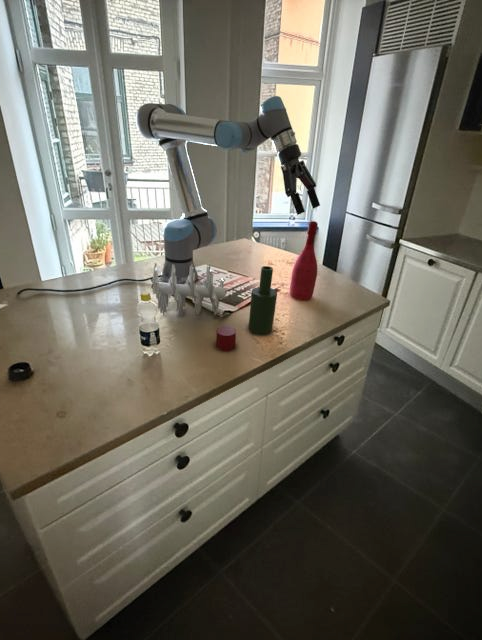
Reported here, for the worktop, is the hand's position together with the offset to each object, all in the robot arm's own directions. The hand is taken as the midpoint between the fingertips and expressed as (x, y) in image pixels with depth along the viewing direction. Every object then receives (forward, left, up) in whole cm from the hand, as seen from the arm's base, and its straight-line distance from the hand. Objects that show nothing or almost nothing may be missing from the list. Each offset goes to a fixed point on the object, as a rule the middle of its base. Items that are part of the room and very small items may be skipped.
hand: (309, 210), depth 131 cm
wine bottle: (+3, +3, -35) cm, 35 cm away
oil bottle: (-16, -26, -34) cm, 46 cm away
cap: (-28, -38, -34) cm, 58 cm away
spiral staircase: (-41, -16, -35) cm, 56 cm away
